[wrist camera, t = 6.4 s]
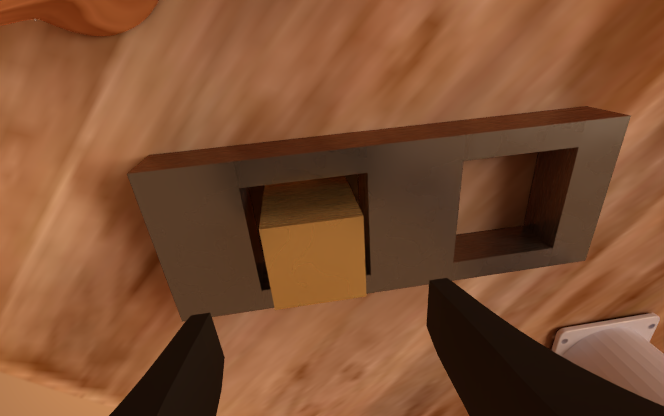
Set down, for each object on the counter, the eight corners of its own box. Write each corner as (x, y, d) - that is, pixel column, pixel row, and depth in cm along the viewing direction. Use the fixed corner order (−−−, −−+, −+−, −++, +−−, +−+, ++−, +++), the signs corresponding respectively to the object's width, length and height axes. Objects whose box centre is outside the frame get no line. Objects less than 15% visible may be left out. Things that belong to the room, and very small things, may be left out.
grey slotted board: (586, 106, 18) (630, 115, 15) (553, 237, 21) (585, 260, 19) (149, 155, 16) (127, 173, 14) (193, 289, 19) (182, 321, 17)
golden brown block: (347, 237, 19) (366, 296, 15) (276, 246, 19) (275, 309, 14) (343, 171, 17) (363, 216, 13) (265, 180, 17) (259, 229, 13)
